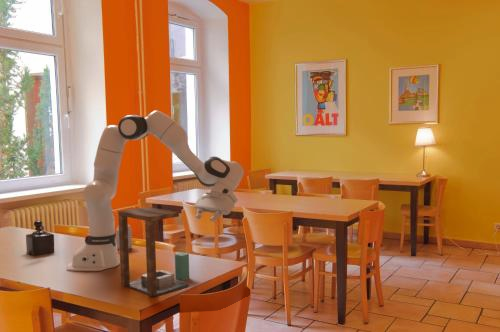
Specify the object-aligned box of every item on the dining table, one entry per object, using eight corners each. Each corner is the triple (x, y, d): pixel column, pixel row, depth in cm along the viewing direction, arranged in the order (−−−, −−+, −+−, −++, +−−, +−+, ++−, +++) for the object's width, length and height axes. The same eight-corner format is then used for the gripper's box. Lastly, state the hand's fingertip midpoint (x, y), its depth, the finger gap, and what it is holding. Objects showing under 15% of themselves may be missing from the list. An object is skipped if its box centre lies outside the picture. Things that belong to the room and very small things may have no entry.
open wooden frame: (149, 276, 199) (146, 206, 197) (180, 287, 185) (178, 212, 183) (120, 283, 190) (117, 211, 188) (151, 296, 175) (149, 217, 173)
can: (118, 247, 254) (117, 224, 253) (133, 246, 254) (132, 224, 253) (115, 250, 246) (114, 227, 245) (130, 250, 247) (130, 226, 246)
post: (183, 276, 202) (182, 252, 201) (189, 278, 199) (188, 254, 198) (175, 278, 199) (174, 254, 198) (181, 280, 196) (180, 256, 195)
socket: (157, 276, 202) (157, 265, 202) (188, 286, 188) (188, 275, 188) (124, 285, 191) (123, 274, 190) (153, 297, 177) (153, 285, 176)
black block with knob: (24, 253, 245) (22, 217, 243) (46, 249, 252) (45, 214, 251) (36, 258, 234) (35, 221, 232) (59, 254, 241) (57, 218, 240)
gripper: (201, 188, 218) (184, 212, 211) (232, 191, 204) (216, 217, 197) (209, 196, 221) (193, 221, 215) (240, 200, 207) (224, 226, 201)
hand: (204, 219), depth 206 cm, fingers open, 8 cm apart
